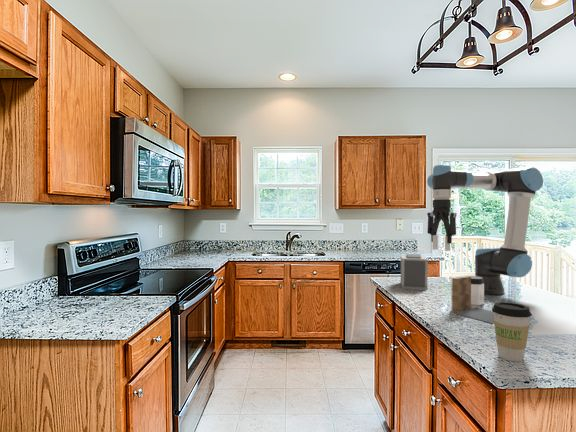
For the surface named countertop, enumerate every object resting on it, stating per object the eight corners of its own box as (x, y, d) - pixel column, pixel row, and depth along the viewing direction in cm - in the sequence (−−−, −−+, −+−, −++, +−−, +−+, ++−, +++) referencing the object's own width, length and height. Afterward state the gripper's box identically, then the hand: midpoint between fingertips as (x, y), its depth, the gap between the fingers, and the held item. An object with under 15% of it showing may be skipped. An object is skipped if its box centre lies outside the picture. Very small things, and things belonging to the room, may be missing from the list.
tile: (465, 307, 157) (465, 275, 157) (470, 308, 155) (471, 276, 154) (451, 310, 152) (451, 277, 151) (456, 311, 149) (456, 278, 149)
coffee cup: (483, 351, 108) (484, 301, 107) (514, 350, 108) (515, 301, 108) (506, 365, 98) (507, 310, 98) (539, 363, 99) (540, 310, 98)
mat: (476, 308, 155) (476, 307, 155) (515, 317, 142) (515, 316, 142) (453, 313, 147) (453, 312, 147) (492, 323, 134) (492, 323, 134)
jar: (476, 306, 158) (476, 279, 158) (459, 302, 165) (459, 276, 165) (487, 303, 163) (487, 277, 163) (469, 299, 170) (469, 274, 170)
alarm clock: (400, 282, 211) (400, 251, 211) (424, 283, 208) (424, 252, 208) (401, 289, 194) (402, 255, 193) (427, 290, 190) (427, 256, 190)
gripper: (419, 199, 167) (418, 248, 168) (455, 198, 151) (454, 252, 151) (429, 199, 171) (429, 247, 171) (465, 198, 155) (465, 251, 155)
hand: (441, 249), depth 161 cm, fingers open, 6 cm apart
